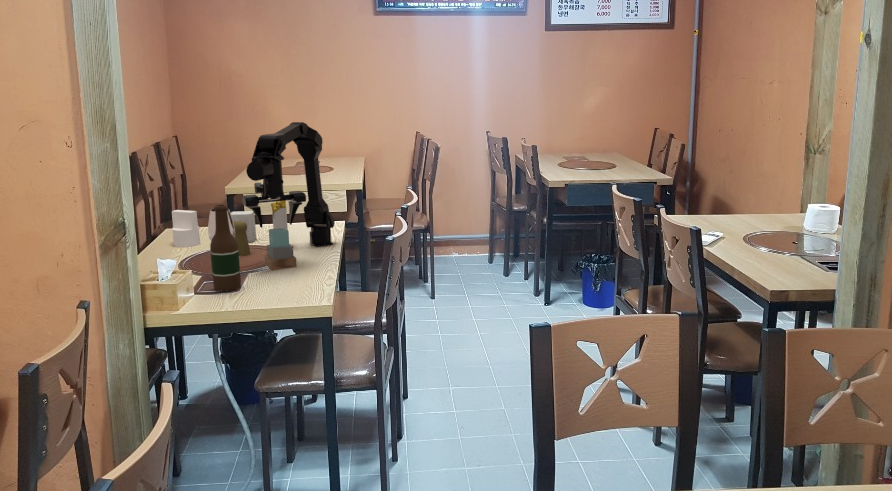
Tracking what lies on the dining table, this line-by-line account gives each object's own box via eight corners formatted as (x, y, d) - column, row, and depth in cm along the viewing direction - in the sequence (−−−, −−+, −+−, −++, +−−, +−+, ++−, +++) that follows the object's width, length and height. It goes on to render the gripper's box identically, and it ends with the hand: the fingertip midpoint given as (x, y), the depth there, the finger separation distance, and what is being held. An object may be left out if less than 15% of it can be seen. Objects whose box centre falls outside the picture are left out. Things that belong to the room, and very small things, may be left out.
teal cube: (285, 242, 244) (284, 227, 243) (289, 246, 240) (288, 230, 239) (269, 244, 242) (268, 229, 241) (273, 248, 238) (272, 232, 237)
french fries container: (275, 251, 261) (272, 199, 257) (273, 244, 271) (269, 194, 267) (289, 250, 262) (286, 198, 258) (286, 243, 272) (283, 193, 268)
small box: (256, 239, 280) (254, 210, 278) (253, 242, 275) (251, 213, 272) (234, 239, 280) (232, 211, 277) (230, 243, 274) (228, 214, 272)
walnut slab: (289, 262, 248) (288, 252, 247) (296, 268, 241) (295, 257, 240) (264, 265, 245) (264, 255, 244) (271, 271, 238) (270, 260, 237)
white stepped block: (168, 246, 271) (164, 212, 268) (185, 240, 279) (182, 208, 276) (188, 248, 268) (185, 214, 265) (205, 242, 276) (202, 209, 273)
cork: (245, 256, 255) (243, 223, 252) (228, 255, 256) (226, 223, 254) (253, 252, 261) (251, 220, 258) (237, 251, 262) (234, 219, 259)
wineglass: (214, 279, 228) (208, 213, 224) (209, 273, 235) (203, 209, 230) (241, 275, 232) (236, 210, 227) (235, 269, 238) (230, 206, 234)
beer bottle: (216, 284, 223) (209, 203, 217) (243, 283, 223) (237, 202, 218) (210, 292, 215) (203, 208, 210) (238, 291, 216) (232, 207, 210)
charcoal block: (287, 253, 246) (286, 242, 245) (293, 257, 240) (292, 246, 240) (267, 255, 243) (266, 244, 242) (273, 260, 237) (272, 249, 237)
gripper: (295, 171, 247) (298, 218, 250) (236, 175, 239) (240, 224, 242) (305, 175, 237) (308, 224, 241) (244, 179, 229) (248, 230, 233)
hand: (276, 225), depth 239 cm, fingers open, 9 cm apart
